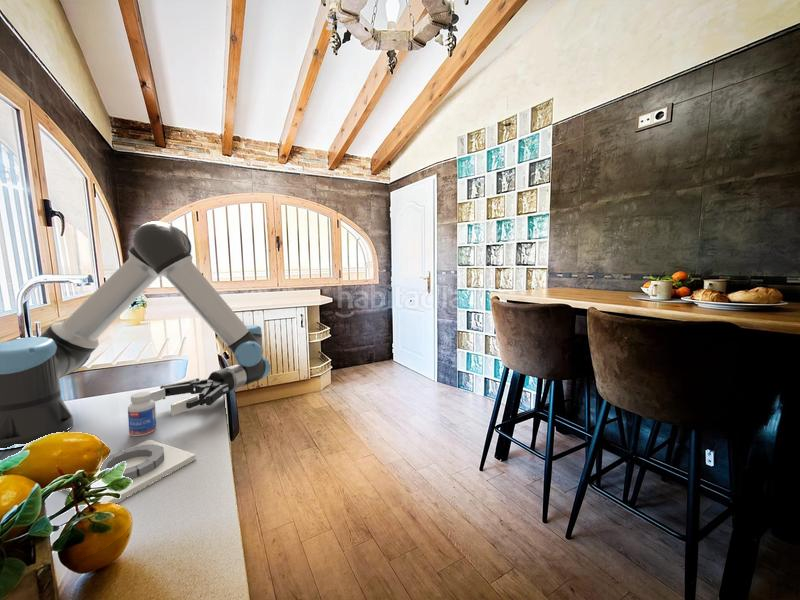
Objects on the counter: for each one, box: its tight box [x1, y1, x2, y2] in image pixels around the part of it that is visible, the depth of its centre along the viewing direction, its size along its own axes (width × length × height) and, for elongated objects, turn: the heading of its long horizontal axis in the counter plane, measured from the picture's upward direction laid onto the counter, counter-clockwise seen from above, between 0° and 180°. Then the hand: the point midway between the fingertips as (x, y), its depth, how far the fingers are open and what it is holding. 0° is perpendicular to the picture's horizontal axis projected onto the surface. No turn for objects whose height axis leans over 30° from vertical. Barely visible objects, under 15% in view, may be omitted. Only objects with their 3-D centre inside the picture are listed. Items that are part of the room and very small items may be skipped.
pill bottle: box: [127, 391, 157, 437], centre depth 82 cm, size 6×5×10 cm
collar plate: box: [65, 439, 197, 504], centre depth 66 cm, size 16×16×3 cm
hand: (154, 405), depth 84 cm, fingers open, 13 cm apart
